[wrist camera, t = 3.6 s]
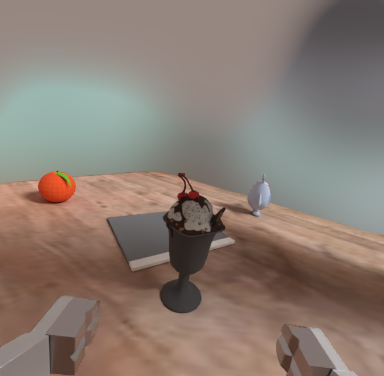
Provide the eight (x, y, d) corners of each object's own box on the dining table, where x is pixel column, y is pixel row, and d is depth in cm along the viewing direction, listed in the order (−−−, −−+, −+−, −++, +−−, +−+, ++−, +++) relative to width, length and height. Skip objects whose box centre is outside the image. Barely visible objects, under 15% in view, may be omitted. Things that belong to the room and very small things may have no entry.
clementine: (85, 202, 45) (85, 173, 43) (55, 210, 39) (53, 177, 37) (63, 194, 48) (62, 167, 46) (31, 200, 42) (29, 169, 40)
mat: (188, 210, 50) (188, 208, 50) (234, 243, 37) (235, 241, 37) (107, 219, 39) (107, 217, 39) (132, 271, 26) (132, 268, 25)
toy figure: (267, 223, 50) (279, 179, 47) (243, 217, 51) (253, 174, 48) (264, 210, 60) (274, 173, 57) (244, 206, 61) (253, 169, 58)
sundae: (144, 285, 24) (156, 167, 20) (188, 270, 27) (206, 169, 24) (168, 332, 18) (190, 185, 15) (219, 305, 22) (247, 184, 19)
